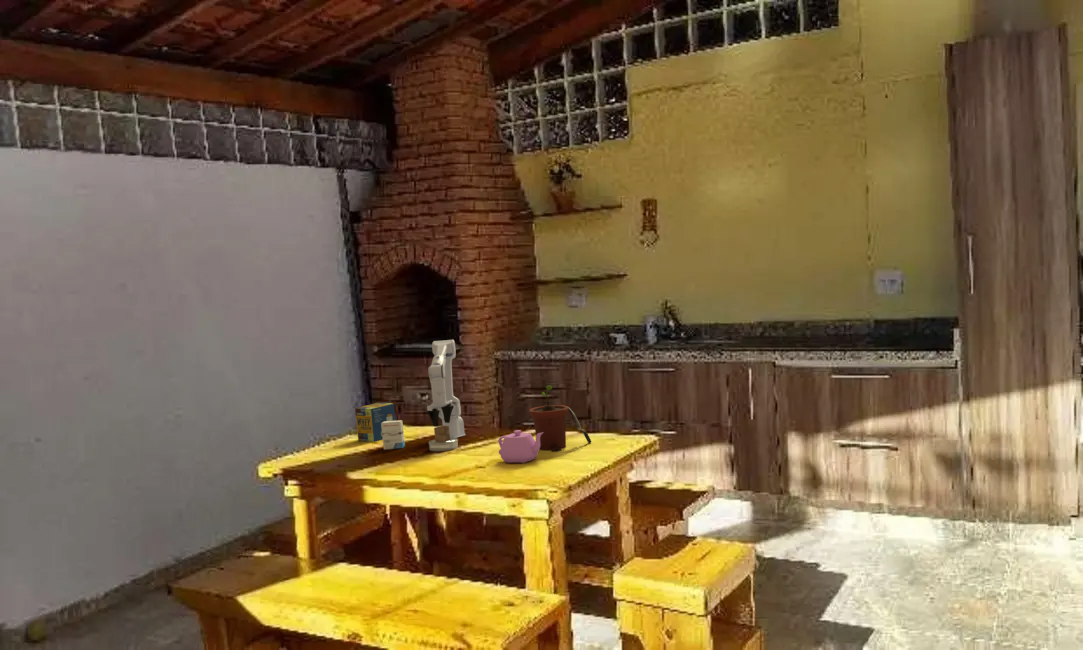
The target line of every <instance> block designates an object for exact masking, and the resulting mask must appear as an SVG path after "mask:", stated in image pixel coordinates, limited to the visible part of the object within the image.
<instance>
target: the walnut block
mask: <svg viewBox="0 0 1083 650" xmlns="http://www.w3.org/2000/svg"><path fill="white" fill-rule="evenodd" d="M433 430H434V431H433V432H434V440H435V442H445V441H448V440H450V432H449V426H443V425H438V426H434V427H433Z"/></svg>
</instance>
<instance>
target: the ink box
mask: <svg viewBox="0 0 1083 650" xmlns="http://www.w3.org/2000/svg"><path fill="white" fill-rule="evenodd" d="M381 427H382V437H383V439H382V444H383V445H382V446H383V450H394V449H395V450H396V449H403V448H404V447H406V443H405V434H404V425H403V420H401V419H400V420H395V421H384V422H382V423H381Z"/></svg>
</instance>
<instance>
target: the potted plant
mask: <svg viewBox="0 0 1083 650" xmlns="http://www.w3.org/2000/svg"><path fill="white" fill-rule="evenodd" d="M552 389H553V386H552V385H551V384H550V385H546V387H545V390H546V392H544V391H542V392H541V394H540V396H544V397H546V402H547V404H546V405H543V406H541V405H540V406H537V407H532V408H530V409H529V411H528V412H529V415H530V418H533V419H532V420H533V423H534V432H535V436H536V435H537V434H538V433H542V432H544V433H542V434H541V436H540V449H539V451H541V450H542V451H550V452H551V453H554V452H555V453H556V452H559V451H560V452H561V451H563V449H564V448H566V446H567V437H566V435H567V430H566V428H567V427H566V416H567V415H568V414H569V413H570V415H571V417H572V420H573V422H574V424H575V425H576V427H577V430H579V431H582V434H583V436H584V437H585V439H586V442H587V444H591V443H592V439H591V437H590V435H589V434H588V432H587V431H586V430H585V429H583V428H582V426H581V423H580V422H579V419H578V418H577V416H576V413H574V411H573V410H572V409H571V408H570V407H569V406H567V405H563V404H550V403H549V399H548V392H549V391H552ZM568 411H569V412H568Z"/></svg>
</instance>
